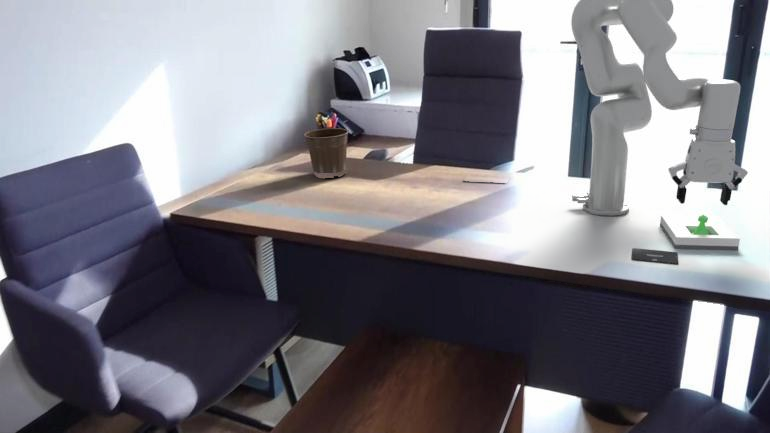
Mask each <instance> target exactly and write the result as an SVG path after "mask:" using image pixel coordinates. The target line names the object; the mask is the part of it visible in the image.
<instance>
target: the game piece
mask: <svg viewBox="0 0 770 433" xmlns="http://www.w3.org/2000/svg"><path fill="white" fill-rule="evenodd" d="M698 216H699V218H698V221H699V222H700V224H699V225H698V227H697V229H696V230H695V232H693V233H692V235H709V234H708V232H707V229H706V226H705V223H706V222H707V220H708V217H706V216H707V215H704V214H703V215H698Z"/></svg>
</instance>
